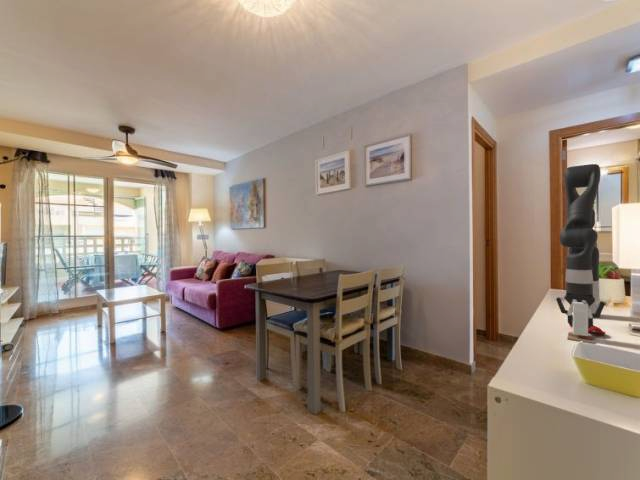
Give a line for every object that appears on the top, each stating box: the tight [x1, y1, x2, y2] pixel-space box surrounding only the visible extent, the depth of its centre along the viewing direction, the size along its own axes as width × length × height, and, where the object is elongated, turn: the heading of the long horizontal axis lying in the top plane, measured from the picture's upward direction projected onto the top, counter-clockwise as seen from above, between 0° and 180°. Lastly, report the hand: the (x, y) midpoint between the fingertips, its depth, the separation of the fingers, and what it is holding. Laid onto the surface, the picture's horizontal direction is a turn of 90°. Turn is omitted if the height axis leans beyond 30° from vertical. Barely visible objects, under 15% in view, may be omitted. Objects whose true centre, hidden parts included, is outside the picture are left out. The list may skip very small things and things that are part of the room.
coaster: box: [567, 331, 594, 344], centre depth 106 cm, size 9×7×1 cm
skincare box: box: [572, 302, 589, 336], centre depth 106 cm, size 6×4×12 cm
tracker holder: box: [568, 324, 606, 335], centre depth 112 cm, size 12×4×10 cm
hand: (580, 326), depth 106 cm, fingers closed on skincare box, 4 cm apart
